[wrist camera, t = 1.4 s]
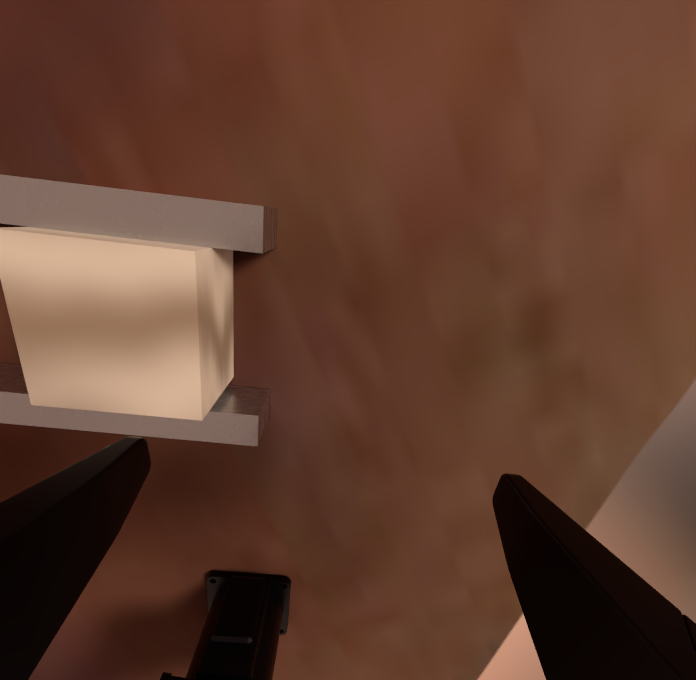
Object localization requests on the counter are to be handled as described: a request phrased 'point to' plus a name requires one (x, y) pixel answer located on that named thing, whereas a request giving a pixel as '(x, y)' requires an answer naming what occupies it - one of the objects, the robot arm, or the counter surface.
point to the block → (119, 321)
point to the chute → (154, 225)
